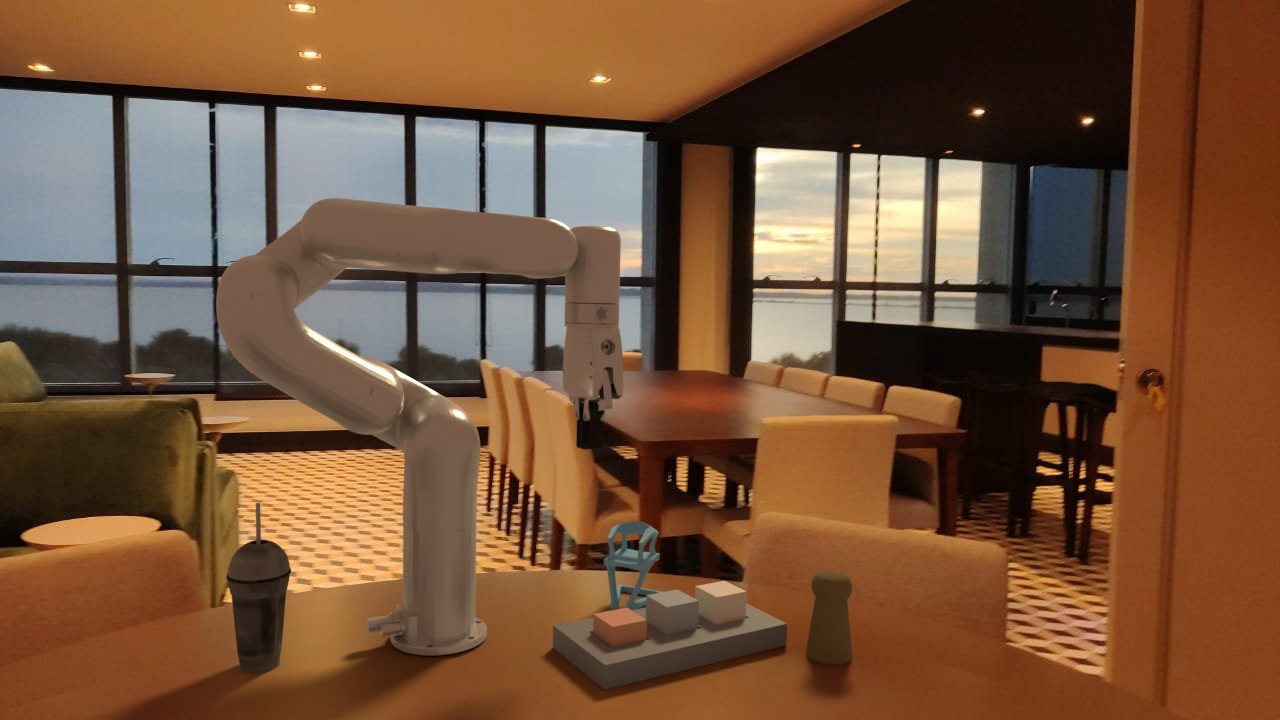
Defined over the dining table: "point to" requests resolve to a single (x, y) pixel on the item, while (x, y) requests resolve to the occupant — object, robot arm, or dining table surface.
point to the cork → (830, 619)
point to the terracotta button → (619, 627)
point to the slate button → (671, 612)
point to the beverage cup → (259, 601)
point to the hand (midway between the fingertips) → (589, 447)
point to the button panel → (666, 647)
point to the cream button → (721, 602)
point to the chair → (631, 562)
